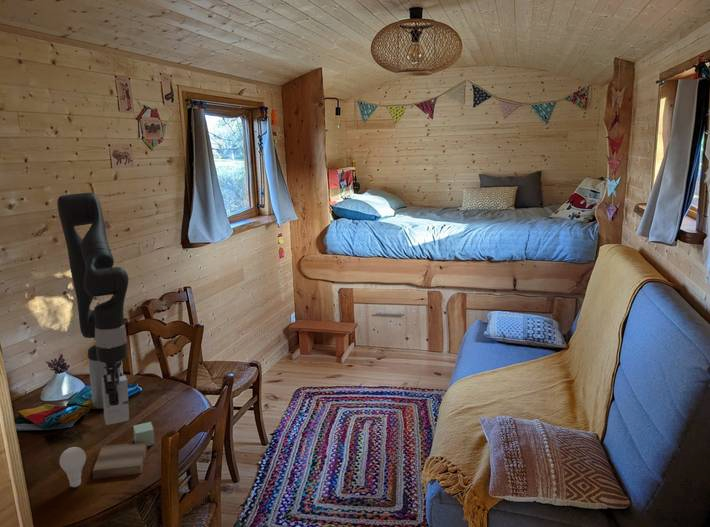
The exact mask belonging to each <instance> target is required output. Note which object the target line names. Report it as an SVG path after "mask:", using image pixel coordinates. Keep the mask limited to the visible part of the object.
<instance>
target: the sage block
mask: <svg viewBox="0 0 710 527" xmlns="http://www.w3.org/2000/svg"><path fill="white" fill-rule="evenodd" d="M132 429H133V430H132V431H133V441H134V443H139V442H147V447H150V446H154V445H155V431H154V430H155V429H154V426H153V424H152V422H151V421H147V422H143V423H140V424H135V425H133V426H132ZM153 444H154V445H153Z"/></svg>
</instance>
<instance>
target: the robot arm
mask: <svg viewBox="0 0 710 527" xmlns="http://www.w3.org/2000/svg"><path fill="white" fill-rule="evenodd" d="M56 205H57V211H58V218H59V220H60V224H61V228H62V232H63V236H64V239H65V242H66V248H67V255H68V262H69V267H70V269H69V270H70V272H71V279H72V283H73V287H74V292H75V297H76V303H77V312H78V322H79V329H80V333H81V335H82V336H83V338H85V339H94V341H95V344H94V345H92V346H90V347H89V348H88V350H87V359H88V361H87V362H88V370H89V383H90V390H91V402H92V406H93V407H94V408H96V409H104V407H103V392H102V378H104V383H105V389H106V394H109V404H110V405H111V406H113V405H118V403H119V399H118V383H119V382H120V376H121V375H124V374H123V361H124V360H125V359H126V358H127V357H128V343H127V342H128V341H127V332H126V326H125V315H124V306H125V305H124V304H125V299H126V294H127V292H128V291H127V290H128V287H129V275H128V273H127V271H126V270H125V269H124V268H123V267H121V266H114V262H115V260H114V256H113V253H112V250H111V248H110V245H109V242H108V238H107V231H106V225H105V224H106V223H105V220H104V216H103V209H102V206H101V202H100V199H99V198H98V196H97V195H96V193H93V192H81V193H71V194H65V195H61V196H58V198H57V203H56ZM84 225H85V226H86V225H87V226H88V225H90V227H89V229H88V230H87V232H86V233H85V235H84V236H83V238H82V237H81V235H79V233H78V231H77V230H76V228H75V227H79V226H84ZM110 295H111V298H110V299H108V300H107V301H103V302H101V303H98V304H97V305H95V306H94V308H93V309H91V308H90V307H91V304H92V301H93V300H94V298H96V297H97V298H98V297H105V296H110ZM115 379H117V380H115ZM110 387H113V388H110Z"/></svg>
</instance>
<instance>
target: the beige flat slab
mask: <svg viewBox="0 0 710 527" xmlns="http://www.w3.org/2000/svg"><path fill="white" fill-rule="evenodd" d="M146 451H148V446H147V442H139V443H135V442H131V443H119V444H110V445H109V444H108V445H107V444H106V445H102V446H101V448H100V451H99V454H98V456H97V458H96V461H95V463H94V466H93V469H92V478H93V480H97V479H106V478H114V477H123V475H125V476H130V475H131V476H133V474H134V475H140V474H139V473H141V474H142V472H143V468H142V467H144V464H143V463H145V460H144V459H146V456H147V452H146ZM145 455H146V456H145Z"/></svg>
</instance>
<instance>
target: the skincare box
mask: <svg viewBox="0 0 710 527" xmlns="http://www.w3.org/2000/svg"><path fill="white" fill-rule="evenodd" d="M115 380H117V379H115ZM128 386H129V385H128V379H127V376H126V374H123V375H121V376H120V382H119V383H118V399H119V403H118V405H113V406H111V405H110V404H109V394H106V389H105V383H104V378H102V392H103V407H104V408H103V419H104V422H105V425H106V426H109V425H113V424H118V423H124V422H127V421H130V408H129V407H130V406H129V405H130V404H129V390H128V388H129V387H128ZM110 388H113V387H110Z"/></svg>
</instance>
